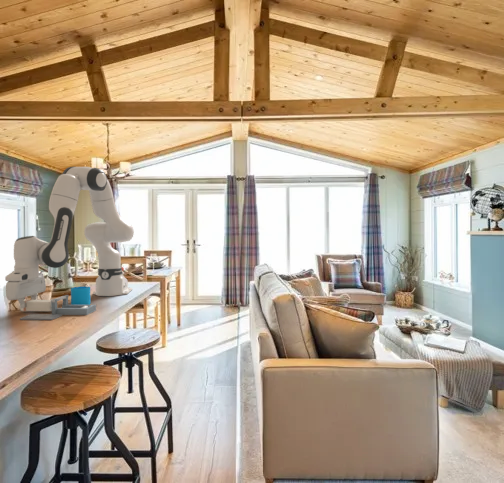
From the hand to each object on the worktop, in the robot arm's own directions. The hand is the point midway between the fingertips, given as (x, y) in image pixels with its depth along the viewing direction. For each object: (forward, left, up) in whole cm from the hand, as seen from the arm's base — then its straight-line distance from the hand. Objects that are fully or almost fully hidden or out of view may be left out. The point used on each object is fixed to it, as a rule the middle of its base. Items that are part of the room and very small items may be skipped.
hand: (28, 306), depth 152 cm
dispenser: (0, +21, -3) cm, 21 cm away
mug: (-16, +16, -3) cm, 22 cm away
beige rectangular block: (0, +4, -2) cm, 5 cm away
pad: (+9, +12, -3) cm, 16 cm away
